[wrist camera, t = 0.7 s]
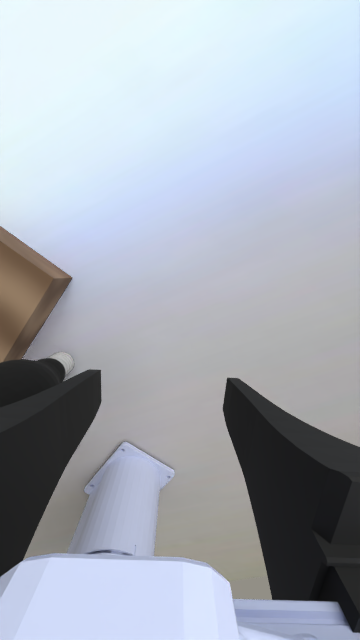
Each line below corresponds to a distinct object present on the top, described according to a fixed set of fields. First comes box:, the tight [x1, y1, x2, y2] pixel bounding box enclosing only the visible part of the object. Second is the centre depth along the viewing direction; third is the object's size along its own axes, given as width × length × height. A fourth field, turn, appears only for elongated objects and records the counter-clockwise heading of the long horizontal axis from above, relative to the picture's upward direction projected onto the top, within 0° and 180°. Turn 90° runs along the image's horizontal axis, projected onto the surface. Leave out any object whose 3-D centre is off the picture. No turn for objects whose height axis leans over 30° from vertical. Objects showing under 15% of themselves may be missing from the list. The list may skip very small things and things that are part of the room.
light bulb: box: [0, 352, 74, 407], centre depth 16 cm, size 6×6×10 cm
